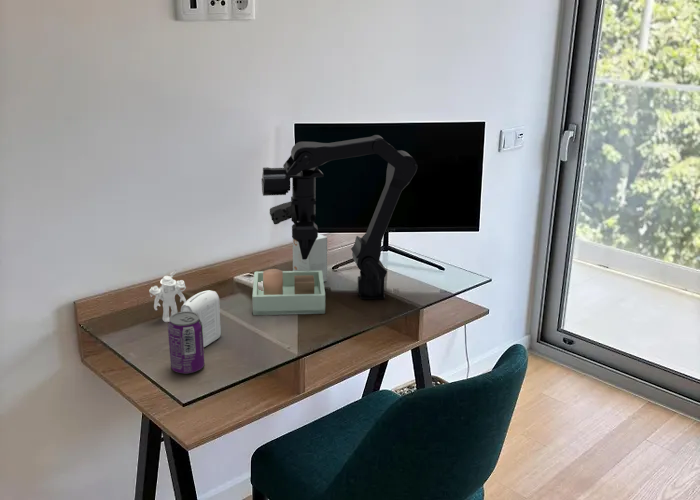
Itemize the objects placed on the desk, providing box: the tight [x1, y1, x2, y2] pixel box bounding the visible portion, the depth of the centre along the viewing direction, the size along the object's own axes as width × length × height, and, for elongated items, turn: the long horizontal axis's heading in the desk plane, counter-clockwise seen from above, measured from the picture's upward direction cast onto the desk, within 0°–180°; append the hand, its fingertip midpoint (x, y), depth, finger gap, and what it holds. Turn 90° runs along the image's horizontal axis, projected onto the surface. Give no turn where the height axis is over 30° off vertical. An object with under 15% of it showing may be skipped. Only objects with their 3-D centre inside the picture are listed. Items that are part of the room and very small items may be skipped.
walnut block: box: [294, 275, 314, 294], centre depth 189 cm, size 5×5×5 cm
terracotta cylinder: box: [263, 268, 283, 295], centre depth 188 cm, size 5×5×7 cm
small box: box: [292, 232, 328, 282], centre depth 201 cm, size 8×6×13 cm
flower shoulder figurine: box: [148, 269, 187, 323], centre depth 176 cm, size 9×4×12 cm, turn 127°
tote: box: [251, 270, 326, 316], centre depth 189 cm, size 18×16×5 cm
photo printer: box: [180, 289, 222, 348], centre depth 165 cm, size 10×4×12 cm, turn 151°
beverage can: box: [167, 311, 205, 375], centre depth 155 cm, size 7×7×12 cm
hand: (303, 252), depth 186 cm, fingers open, 9 cm apart
